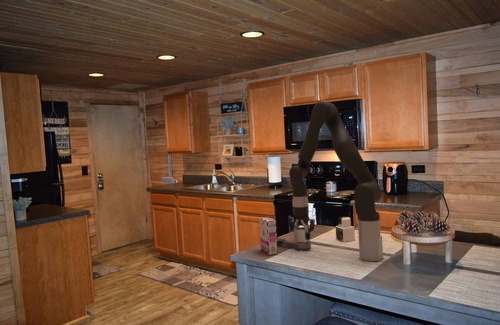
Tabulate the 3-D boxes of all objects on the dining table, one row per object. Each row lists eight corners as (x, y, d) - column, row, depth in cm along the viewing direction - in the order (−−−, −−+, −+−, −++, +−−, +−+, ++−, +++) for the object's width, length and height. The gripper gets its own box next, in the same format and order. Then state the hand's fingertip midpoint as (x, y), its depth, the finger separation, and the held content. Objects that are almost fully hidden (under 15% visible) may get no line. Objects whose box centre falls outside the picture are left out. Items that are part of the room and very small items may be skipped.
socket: (300, 238, 192) (299, 226, 191) (310, 239, 188) (309, 227, 188) (294, 241, 187) (294, 229, 187) (305, 242, 184) (304, 230, 184)
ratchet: (313, 247, 189) (313, 232, 189) (306, 251, 182) (305, 236, 182) (275, 242, 202) (275, 228, 201) (267, 246, 195) (266, 232, 195)
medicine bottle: (335, 239, 202) (334, 216, 201) (347, 237, 204) (346, 215, 203) (343, 242, 195) (342, 219, 194) (355, 240, 197) (354, 217, 196)
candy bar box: (278, 254, 181) (276, 220, 180) (268, 256, 179) (266, 221, 179) (270, 248, 192) (268, 216, 191) (260, 250, 190) (258, 217, 189)
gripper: (317, 204, 186) (319, 238, 187) (291, 203, 194) (293, 236, 195) (310, 207, 180) (312, 242, 181) (284, 205, 188) (285, 239, 189)
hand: (302, 239), depth 188 cm, fingers closed on socket, 5 cm apart
